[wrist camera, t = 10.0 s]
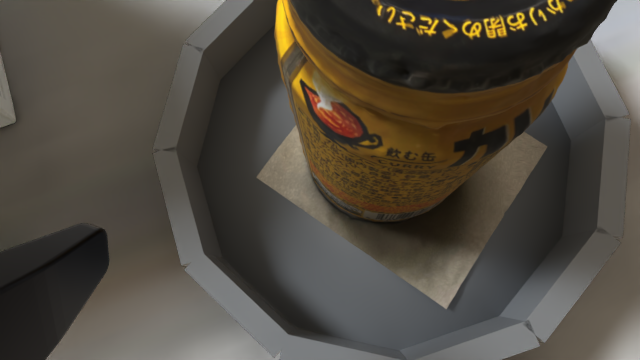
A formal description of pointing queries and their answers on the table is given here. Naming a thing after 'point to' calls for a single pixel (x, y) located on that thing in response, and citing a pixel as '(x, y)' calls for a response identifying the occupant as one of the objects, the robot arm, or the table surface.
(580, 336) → the table surface
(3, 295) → the robot arm
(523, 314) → the round grey tray
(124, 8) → the table surface
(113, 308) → the table surface
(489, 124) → the condiment
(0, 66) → the tea box
